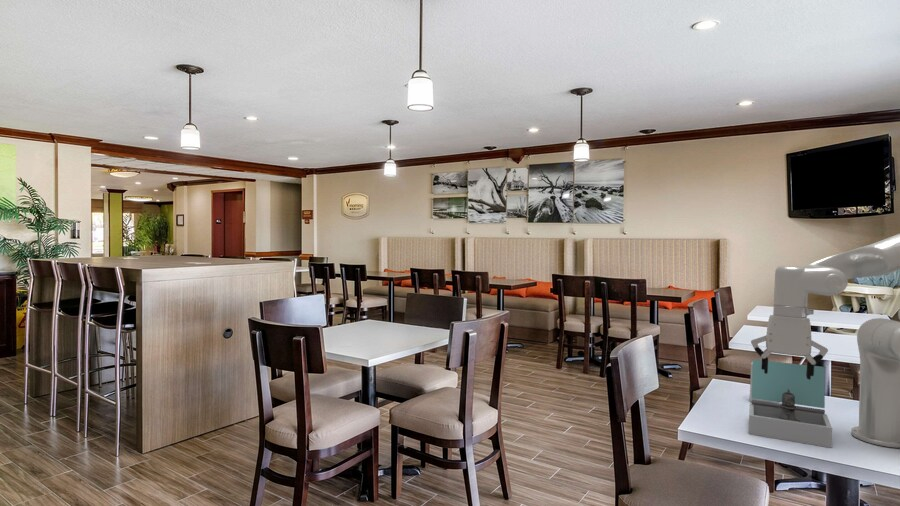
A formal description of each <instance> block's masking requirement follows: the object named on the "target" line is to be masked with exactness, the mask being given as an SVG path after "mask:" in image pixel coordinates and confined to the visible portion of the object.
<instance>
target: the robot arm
mask: <svg viewBox="0 0 900 506" xmlns="http://www.w3.org/2000/svg"><path fill="white" fill-rule="evenodd" d="M897 271H900V233H897V234H895V235H893V236H892V235H891V236H888V237H887V238H884V239H882V240H879V241H875V242H874V243H871V244H868V245H864V246H860V247H857V248H854V249H851V250H848V251H844V252H840V253H837V254H834V255H830V256H827V257H824V258H822V259H819V260H816V261H815V262H811V263H809V264H806V265H804V266H796V265H792V266H791V265H780V266H777V267H776V269H775V272H774V273H775V274H774V286H773V287H774V290H773V293H774V294H773V308H772V309H773V311H772V314H770V315H769V317H768V322H767V326H766V327H767V328H766V335H763V336H760V337H758V338H757V337H756V338H753V339H751V340H750V344H751V345H752V347H753V349H754V351H755V353H757V355H759V356H760V358H761V360H762V369H763V370H764V373H765V374H767V373H768V361H769V356H770V355H771V354H778V355H779V354H780V355H786V356H787V355H788V356H794V357H795V356H797V357H798V356H799V357H805V359H806V360H807V363H806V365H807V372H806V377H807V379H811V376H814V366H816V364H817V363H818V362H820V361H822V360H823V358H824V357H825V356H826V355H827V353H828V352H829V349H828V348H827V347H825V346H823V345H822V344H820V343H818V342H816V341H814V340H813V339H812V329H811V328H812V327H811V320H810V319H811V318H809V317H808V316H810V315H814V312H815V311H814V309H812V308H809V307H808V296H809V295H808V294H815V295H821V296H827V297H829V296H837V295H839V294H841V293H843V292H844V291H845V290H846V289H847V288H848V284H849V283H848V280H851V279H858V278H871V277H879V276H886V275H890V274H893V273H895V272H897ZM897 314H898V315H897V316H898V319H899V320H900V308H899V309H898V312H897ZM856 341H857V342H856V343H857V347H858V352H859V363H860V364H859V367H860V369H859V370H860V371H859V372H860V373H859V374H860V375H859V398H858V399H859V400H858V401H859V403H858V405H859V406H858V407H859V408H858V426H854V427H852V428H850V429H851V430H850V433H851V435H852V436H853V437H854V438H856V439H859V440H860V441H863V442H866V443H869V444H874V445H878V446H882V447H887V448H895V449H900V321H898V320H894V319H889V318H882V317H881V318H871V319H868V320H866V321H864V322H863V323H862V324H861V325H859V328H858V330H857V334H856ZM764 342H765V349H764V350H762V349H761V348H760V346H759V344H761V343H764ZM812 347H813V348H814V349H817V350H819V352H818V353H817V354H816V355H815V356H812V355H811V354H812Z"/></svg>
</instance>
